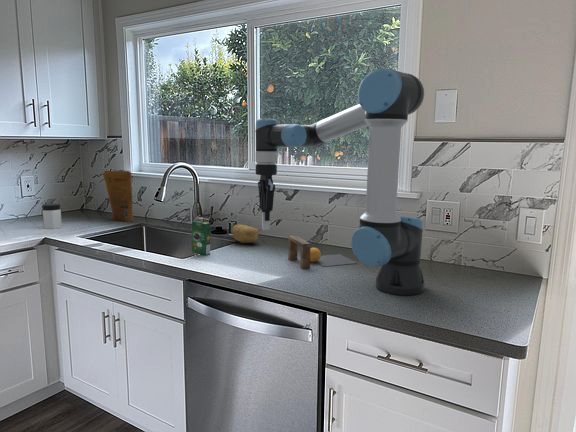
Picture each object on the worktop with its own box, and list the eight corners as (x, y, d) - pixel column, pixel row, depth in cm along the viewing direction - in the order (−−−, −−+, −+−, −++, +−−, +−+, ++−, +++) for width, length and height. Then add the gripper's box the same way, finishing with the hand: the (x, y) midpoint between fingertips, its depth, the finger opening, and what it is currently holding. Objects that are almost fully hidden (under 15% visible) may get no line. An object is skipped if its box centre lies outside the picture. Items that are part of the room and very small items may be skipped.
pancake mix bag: (129, 222, 244) (126, 171, 240) (104, 219, 253) (101, 170, 248) (138, 220, 250) (136, 170, 246) (113, 217, 259) (111, 169, 254)
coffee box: (211, 254, 180) (210, 222, 178) (206, 255, 177) (205, 223, 175) (196, 251, 184) (196, 220, 182) (191, 252, 182) (191, 221, 179)
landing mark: (357, 263, 169) (357, 263, 169) (323, 266, 164) (323, 266, 164) (340, 254, 182) (340, 254, 182) (308, 257, 177) (308, 256, 177)
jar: (55, 225, 235) (53, 202, 233) (65, 226, 231) (64, 203, 229) (39, 228, 227) (37, 204, 225) (49, 229, 223) (47, 206, 221)
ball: (312, 265, 167) (325, 260, 169) (308, 252, 166) (321, 246, 168) (306, 262, 172) (318, 256, 174) (302, 249, 171) (314, 244, 173)
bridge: (295, 258, 175) (295, 235, 174) (310, 268, 162) (310, 243, 160) (288, 258, 174) (288, 235, 172) (302, 269, 161) (302, 244, 159)
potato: (248, 247, 192) (248, 229, 191) (227, 242, 201) (226, 224, 200) (264, 243, 199) (264, 226, 198) (242, 238, 208) (242, 222, 207)
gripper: (282, 164, 152) (281, 232, 156) (270, 162, 164) (270, 225, 168) (261, 164, 150) (261, 233, 154) (250, 162, 162) (251, 226, 166)
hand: (265, 229), depth 161 cm, fingers closed
